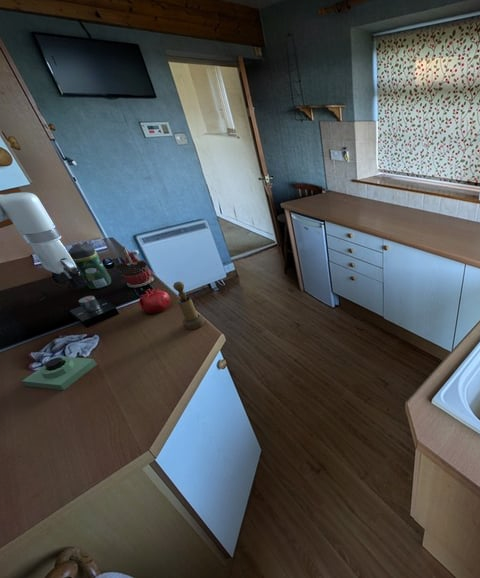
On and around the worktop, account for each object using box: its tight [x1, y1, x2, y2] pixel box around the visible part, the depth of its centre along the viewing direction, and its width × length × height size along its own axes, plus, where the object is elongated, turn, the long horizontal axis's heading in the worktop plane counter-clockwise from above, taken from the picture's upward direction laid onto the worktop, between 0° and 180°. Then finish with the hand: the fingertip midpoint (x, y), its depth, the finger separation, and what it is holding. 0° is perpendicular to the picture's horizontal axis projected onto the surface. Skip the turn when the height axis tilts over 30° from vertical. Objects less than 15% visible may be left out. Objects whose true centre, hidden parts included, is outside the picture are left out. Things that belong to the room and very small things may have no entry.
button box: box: [21, 355, 98, 391], centre depth 86 cm, size 12×10×4 cm
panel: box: [69, 298, 120, 329], centre depth 111 cm, size 12×10×3 cm
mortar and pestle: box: [172, 281, 205, 331], centre depth 103 cm, size 7×6×18 cm
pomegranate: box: [138, 288, 171, 314], centre depth 114 cm, size 10×10×9 cm
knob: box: [78, 295, 100, 312], centre depth 109 cm, size 4×4×5 cm
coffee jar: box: [67, 242, 112, 290], centre depth 126 cm, size 10×8×19 cm
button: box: [43, 357, 65, 371], centre depth 85 cm, size 4×4×2 cm
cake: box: [115, 246, 155, 289], centre depth 128 cm, size 11×9×18 cm
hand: (72, 284), depth 97 cm, fingers open, 9 cm apart
